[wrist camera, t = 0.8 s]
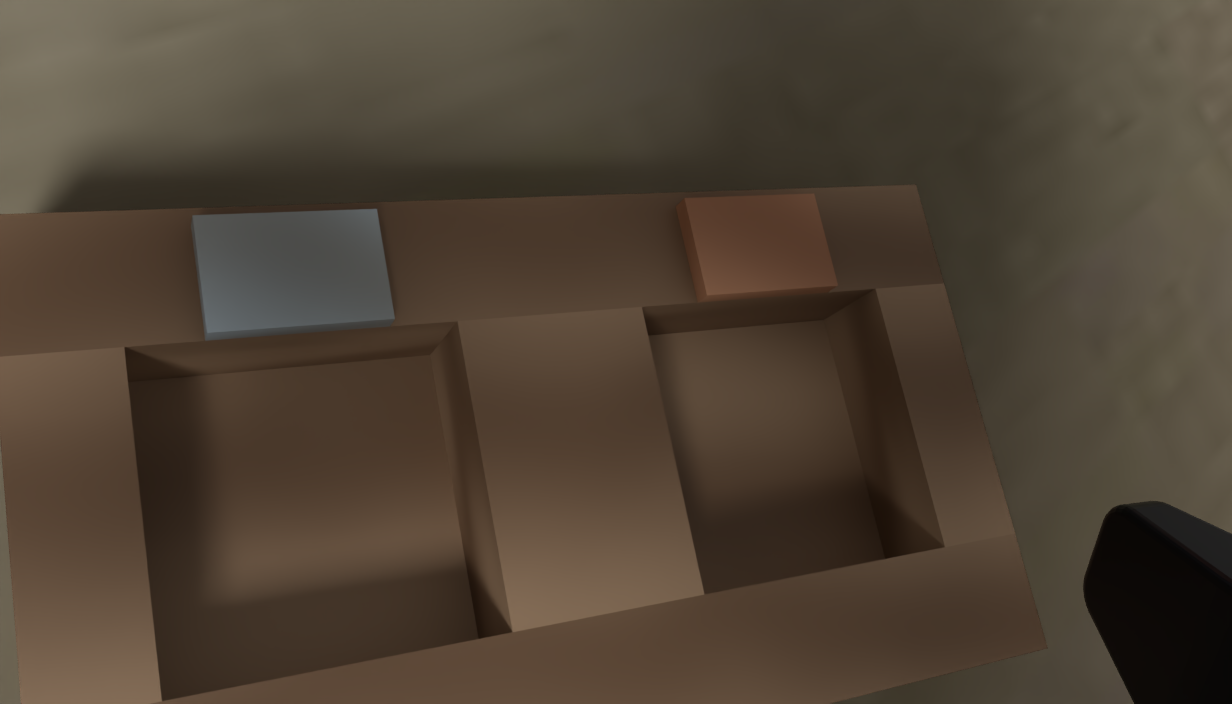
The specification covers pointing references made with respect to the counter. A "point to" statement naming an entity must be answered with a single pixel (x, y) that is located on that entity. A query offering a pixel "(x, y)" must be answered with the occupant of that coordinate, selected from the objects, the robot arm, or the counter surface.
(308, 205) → the socket block
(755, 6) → the counter surface
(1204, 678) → the robot arm
